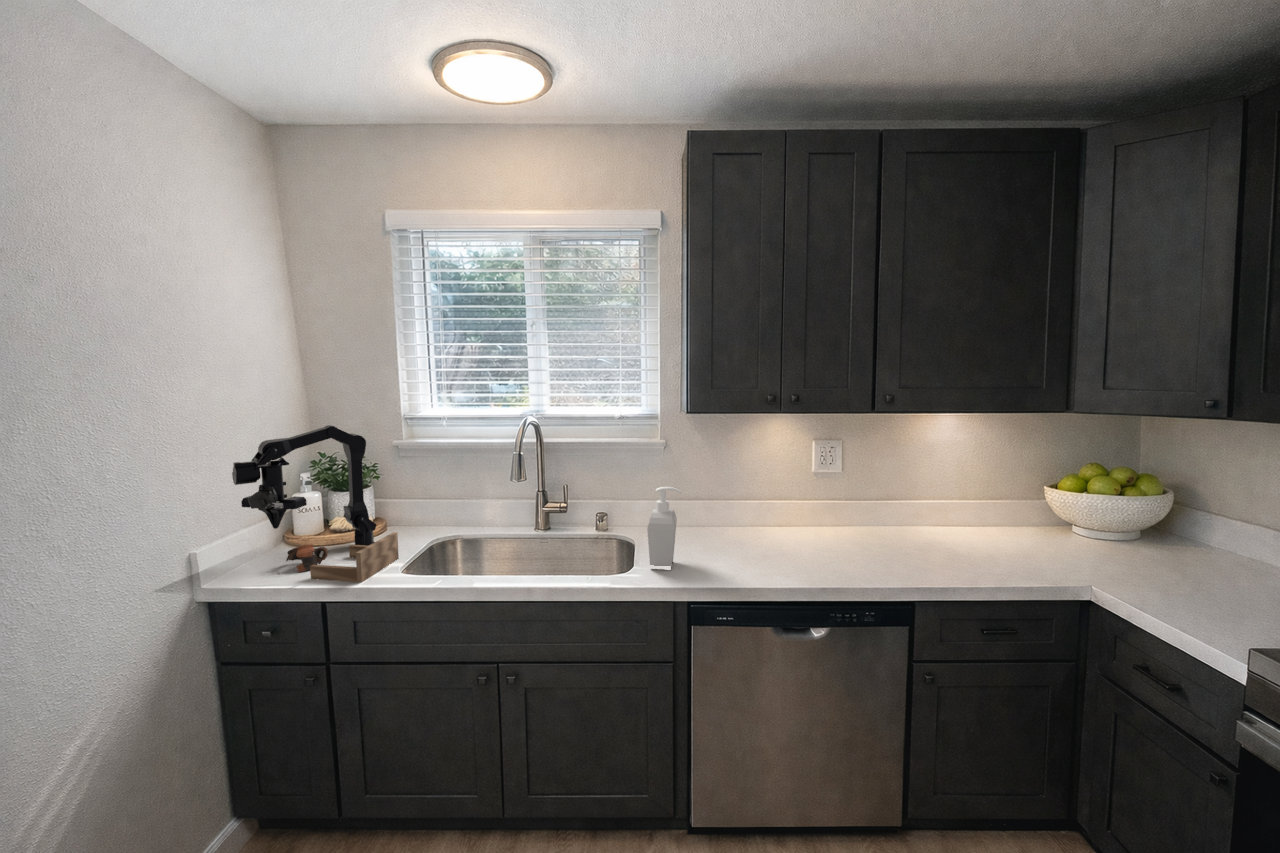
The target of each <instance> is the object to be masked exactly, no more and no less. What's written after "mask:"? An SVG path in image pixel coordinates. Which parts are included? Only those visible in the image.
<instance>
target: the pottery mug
mask: <svg viewBox="0 0 1280 853" xmlns="http://www.w3.org/2000/svg"><path fill="white" fill-rule="evenodd" d="M322 552H323V554H322V555H321V553H322ZM328 555H329V551H328V548H326V546H320V547H319V546H318V547H317V548H315V547H314V545H313V544H304V545H300V546H297V547H294V548H291V549H289V550H288V551H287V557H286V560H285V562H288V561H292V562H293V561H296V560H297V561H299V560H301V562H302V563H301V564H299V565H296V569H297V572H299V573H302V572H305V571H309V570H310V566H312V565H322V562H323V561H325V560H326V559H327V557H328Z"/></svg>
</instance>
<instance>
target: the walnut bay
mask: <svg viewBox="0 0 1280 853" xmlns="http://www.w3.org/2000/svg"><path fill="white" fill-rule="evenodd" d="M398 536H399V535H398V532H394V531H392V532H391V533H389V534H388V535H386V536H384V537H381V538H380V539H378V540H376V541H374V542H375V543H373V544H371V545H369V546H367V545H355V544H351V545H349V546H348V547H349V548H348V552H349V558H350V557H351V558H350V559H355V562H356V564H355V565H356V566H345V565H342V566H341V565H329V564H328V565H326V564H318V565H312V566H310V572H309V573H310V580H316V579H319V580H318V581H320V580H321V581H334V582H335V581H337V582H350V583H351V582H352V583H353V582H354V583H363V582H365V581H366V580H368V579H369V578H371V577H373V576H374V575H376V574H377V573H379V572H380V571H382V570H384V569H386V568H387V567H388V566H390V565H392V564H393V563H394V561H395V560H396V561H398V560H399V557H400V556H399V539H398V538H399V537H398ZM352 557H353V558H352ZM397 559H398V560H397ZM396 561H395V562H396ZM392 562H393V563H392ZM389 564H390V565H389ZM386 566H387V567H386ZM383 568H384V569H383Z"/></svg>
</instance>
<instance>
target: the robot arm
mask: <svg viewBox="0 0 1280 853" xmlns="http://www.w3.org/2000/svg"><path fill="white" fill-rule="evenodd" d="M330 439H332V440H334V441H336V442H339V443H340V444H342V447H343V448H342V449H343V452H344V454H345V457H346V460H347V473H348V474H347V475H348V495H349V498H348V499H349V501H348V504H347V505H343V511H344V512H343V518H344V519H345V521H346V523H348V524H349V525H350V526H352V528H353V529H354V545H367V546H369V545H371V544H373V543H375V542H376V541H375V540H374V531H376V528H377V523H375V522H374V521H372V520H371V519H370V515H369V511H368V508H367V505H366V503H365V499H364V478H363V477H364V476H363V475H364V474H363V459H364V456H365V453H366V447H367V440H366V439H365V437H364V436H362V435H359V434H356V433H350V432H349V433H348V432H346V431H345V430H342V429H339V427H337V426H335V425H331V424H329V425H328V424H327V425H325V426H324V427H319V428H317V429H314V430H310V431H307V432H303V433H300V434H297V435H293V436H291V437H283V438H273V439H267V440H263V441H261V442H260V443H259V445H258V447H257V452H256V454H255V455H253V456H254V457H253V458H252V459H251V460H250V461H241V462H240V461H238V462H233V463H232V464H233V468H232V472H231V476H232V477H231V478H232V480H233V484H234V486H237V485H246V484H254V483H257V482H258V481H259V480H260V479H261V484H259V485H258V490H257V491H256V492H255V493H253V494H252V495H249V496H246V497H243V498H242V500H241V502H240V503H241V504H240V505H241V508H251V509H252V510H253V509H257V510H259V511H261V512H263V513H264V514H265V515H266V517H267V518H268V520H269V522H270V524H271V526H272V528H273V529H275V530H276V529H278V528H279V526H280V524H281V522H282V519H283V517H284V515H285V513H286V511H287V510H297V509H300V508H302V507H305V506H307V505H308V504H307V499H306V498H305V496H292V497H291V496H290V497H289V498H288V495H287V494H286V493H285V492H284V491H285V490H284V486H286V485H287V481H284V476H283V466H289V465H290V463H289V462H288V461H287V460H285V459H284V457H285V456H287V455H288V454H290V453H291V452H293V451H295V450H297V449H301V448H304V447H307V446H309V445H313V444H316V443H320V442H324V441H326V440H330Z"/></svg>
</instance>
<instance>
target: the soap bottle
mask: <svg viewBox="0 0 1280 853" xmlns="http://www.w3.org/2000/svg"><path fill="white" fill-rule="evenodd" d="M667 491H673V492H674V491H675V492H677V493H680V494H681V493H682V490H681V489H678V488H676V487H673V486H660V487H657V488H656V489H655V493H658V492H659V499H658V500H656V503H655V505H656V506H655V508H653V509H652V512H651V514H650V517H649V521H648V524H647V541H648V554H649V556H648V557H649V566H650V565H654V566H672V567H673V565H672V562H673V563H674V555H675V543H676V534H677V533H676V531H677V523H678V522H677V515H676V512H675V510H674V509H670V501H669V500H667Z"/></svg>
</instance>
